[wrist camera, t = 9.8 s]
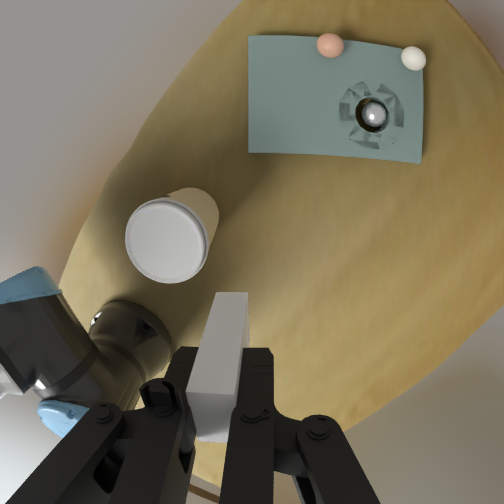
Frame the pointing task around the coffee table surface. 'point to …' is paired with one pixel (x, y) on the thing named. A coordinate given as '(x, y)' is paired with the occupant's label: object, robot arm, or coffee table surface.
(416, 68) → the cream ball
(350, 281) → the coffee table surface
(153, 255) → the coffee cup
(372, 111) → the steel ball
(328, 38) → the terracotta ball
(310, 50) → the board
